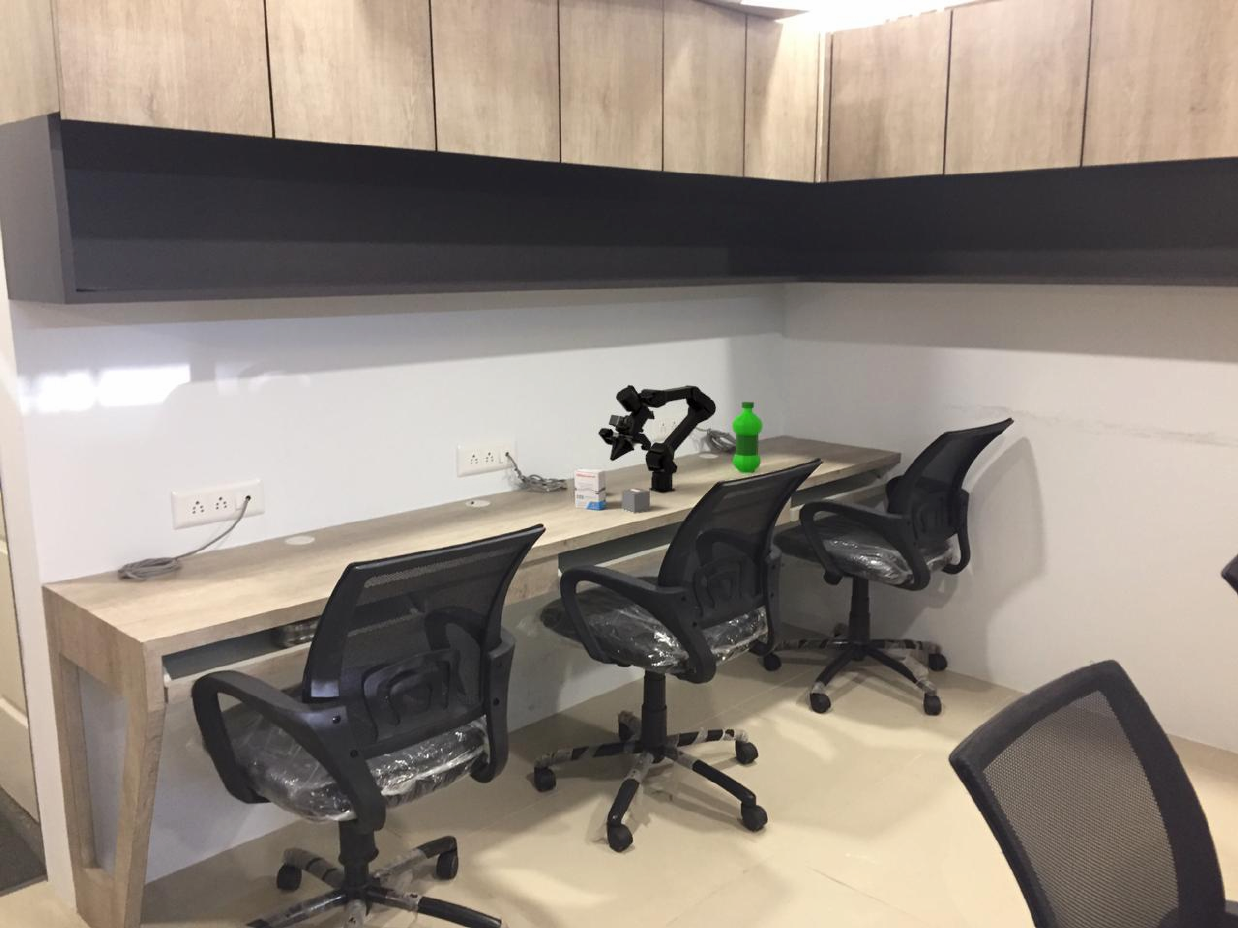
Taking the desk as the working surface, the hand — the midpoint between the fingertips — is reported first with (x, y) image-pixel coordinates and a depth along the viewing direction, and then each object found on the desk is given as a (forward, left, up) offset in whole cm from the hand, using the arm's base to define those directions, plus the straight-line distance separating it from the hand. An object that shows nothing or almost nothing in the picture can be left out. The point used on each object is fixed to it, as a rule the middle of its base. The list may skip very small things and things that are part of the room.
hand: (611, 460), depth 307 cm
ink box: (+10, +2, -14) cm, 17 cm away
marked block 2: (+1, +13, -13) cm, 19 cm away
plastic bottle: (-67, -8, -14) cm, 69 cm away
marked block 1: (+2, -11, -13) cm, 17 cm away
